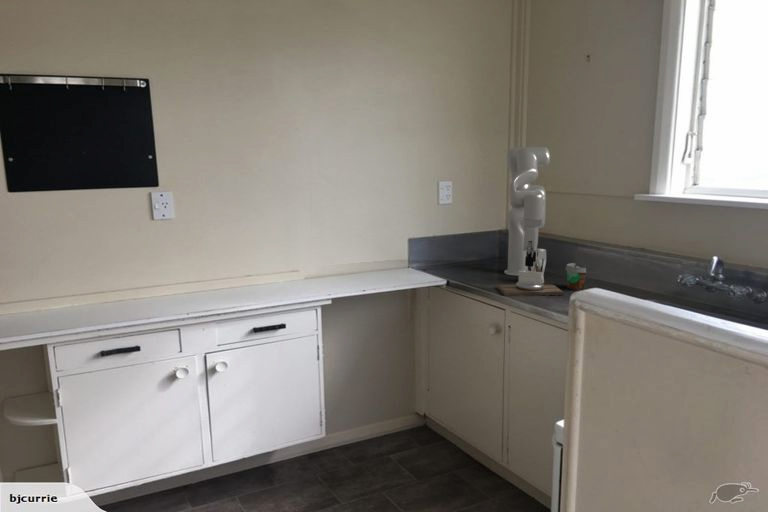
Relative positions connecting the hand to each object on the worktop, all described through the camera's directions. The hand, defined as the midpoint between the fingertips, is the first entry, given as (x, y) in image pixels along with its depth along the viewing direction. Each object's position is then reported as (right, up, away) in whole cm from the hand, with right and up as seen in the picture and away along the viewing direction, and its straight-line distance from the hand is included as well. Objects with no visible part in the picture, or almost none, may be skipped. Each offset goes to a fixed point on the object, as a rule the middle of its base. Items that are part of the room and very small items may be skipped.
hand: (530, 263), depth 254 cm
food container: (+20, -11, +8) cm, 24 cm away
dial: (0, -10, +1) cm, 10 cm away
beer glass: (+8, -9, +19) cm, 23 cm away
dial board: (0, -12, +1) cm, 12 cm away
